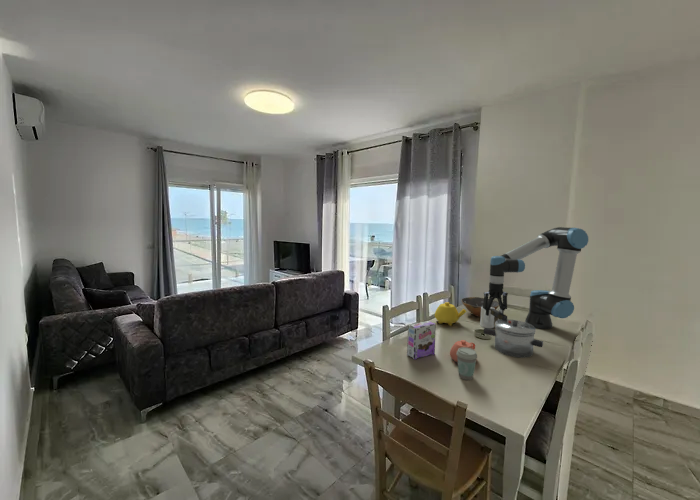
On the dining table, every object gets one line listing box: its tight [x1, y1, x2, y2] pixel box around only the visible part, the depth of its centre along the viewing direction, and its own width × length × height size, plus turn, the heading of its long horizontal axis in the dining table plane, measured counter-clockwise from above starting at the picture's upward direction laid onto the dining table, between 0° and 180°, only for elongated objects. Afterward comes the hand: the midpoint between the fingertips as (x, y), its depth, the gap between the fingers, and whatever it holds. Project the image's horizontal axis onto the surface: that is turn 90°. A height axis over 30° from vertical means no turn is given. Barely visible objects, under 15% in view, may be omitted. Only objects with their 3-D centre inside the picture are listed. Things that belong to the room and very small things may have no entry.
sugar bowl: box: [449, 339, 476, 363], centre depth 149 cm, size 12×14×10 cm
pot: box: [483, 325, 544, 358], centre depth 161 cm, size 28×19×12 cm, turn 49°
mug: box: [479, 307, 495, 329], centre depth 195 cm, size 12×8×12 cm
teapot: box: [434, 301, 467, 327], centre depth 201 cm, size 20×16×14 cm
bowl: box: [460, 296, 500, 318], centre depth 218 cm, size 25×25×10 cm
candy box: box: [406, 320, 437, 360], centre depth 154 cm, size 14×6×16 cm, turn 117°
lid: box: [490, 308, 537, 334], centre depth 167 cm, size 32×19×4 cm, turn 4°
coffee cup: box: [456, 347, 478, 381], centre depth 133 cm, size 8×8×12 cm
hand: (494, 320), depth 180 cm, fingers open, 6 cm apart
